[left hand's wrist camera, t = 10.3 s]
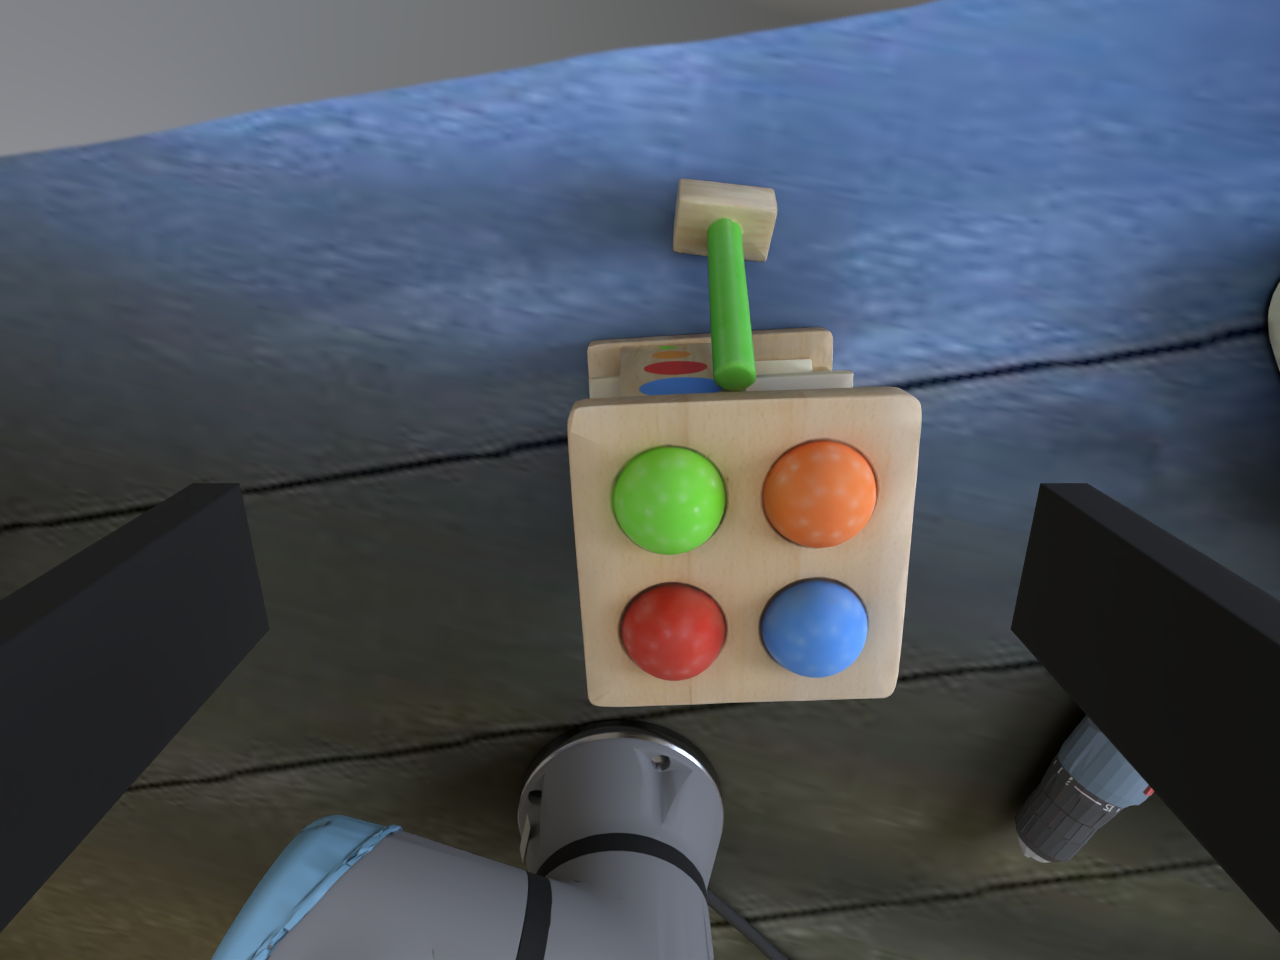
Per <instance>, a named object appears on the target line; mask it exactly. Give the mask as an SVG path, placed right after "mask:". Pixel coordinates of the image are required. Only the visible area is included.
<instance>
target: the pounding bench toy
mask: <svg viewBox="0 0 1280 960" xmlns="http://www.w3.org/2000/svg"><path fill="white" fill-rule="evenodd" d="M777 211H778V210H777V202H776V198H775V193H774V190H773V189H772V188H764V187H755V186H746V185H737V184H728V183H720V182H711V181H702V180H693V179H680V180H679V186H678V193H677V201H676V210H675V219H674V228H673V251H675V252H677V253H686V254H693V255H702V256H708V275H709V299H710V324H711V333H702V334H686V335H671V336H655V337H638V338H622V339H608V340H595V341H592V342H590V344H589V346H588V350H587V359H588V373H589V398H590V399H581V400H578V401H576V402H575V403H574V404H573V406H572V409H571V411H570V414H569V417H568V422H567V432H568V449H569V464H570V478H571V491H572V505H573V518H574V531H575V544H576V557H577V569H578V580H579V593H580V605H581V618H582V630H583V642H584V654H585V665H586V677H587V688H588V699H589V700H590V702H591V703H592V704H594V705H596V706H605V707H630V706H658V705H689V704H711V703H731V702H769V701H808V700H834V699H860V698H886V697H888V696H890V695H891V694H892V693H893V691H894V689H895V686H896V682H897V678H898V670H899V661H900V652H901V642H902V632H903V622H904V612H905V600H906V588H907V576H908V565H909V555H910V544H911V534H912V522H913V509H914V498H915V489H916V480H917V468H918V455H919V442H920V431H921V416H922V410H921V405H920V402H919V401H918V400H917V399H916V398H915V397H913V396H912V395H910V394H909V393H907V392H905V391H903V390H902V389H900V388H897V387H886V386H879V387H853V376H854V374H853V372H852V371H850V370H838V371H832V359H833V337H832V333H831V332H830V331H829V330H827V329H825V328H822V327H808V328H789V329H771V330H753V331H751V321H750V312H749V302H748V293H747V284H746V275H745V265H744V260H746V261H755V262H764V261H766V260H767V255H768V251H769V246H770V242H771V238H772V234H773V230H774V226H775V221H776V216H777Z"/></svg>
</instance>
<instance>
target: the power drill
mask: <svg viewBox="0 0 1280 960" xmlns="http://www.w3.org/2000/svg"><path fill="white" fill-rule="evenodd" d="M1153 792H1154V790H1153V789H1152V788H1151V787H1150V786H1149V785H1148V784H1147V782H1146V781H1145V780H1144V779H1143V778H1142V777H1141V776H1140V774H1139V773H1138V772H1137V771H1136V770H1135V769H1134V768H1133V767H1132V765H1131V764H1130V763H1129V762H1128V761H1127V760H1126V759H1125V758H1124V756H1123V755H1122V754H1121V753H1120V752H1119V751H1118V750H1117V749H1116V747H1115V746H1114V745H1113V744H1112V743H1111V742H1110V741H1109V740H1108V738H1107V737H1106V736H1105V735H1104V734H1103V733H1102V732H1101V731H1100V729H1099V728H1098V727H1097V726H1096V725H1095V724H1094V723H1093V721H1092V720H1091V719H1090V718H1089V717H1088V716H1087V715H1086V716H1085V717H1084V718H1083V719H1082V721H1081V722H1080V723H1079V724H1078V726H1077V727H1076V728H1075V729H1074V731H1073V732H1072V733H1071V734H1070V736H1069V737H1068V738H1067V739H1066V741H1065V742H1064V743H1063V745H1062V747H1061V749H1060V751H1059V752H1058V754H1057V755H1056V757H1055V758H1054V759H1053V760H1052V763H1051V764H1050V766H1049V768H1048V769H1047V771H1046V773H1045V775H1044V777H1043V779H1042V780H1041V783H1040V784H1039V785H1038V787H1037V788H1036V789H1035V790H1034V791H1033V793H1032V794H1031V795H1029V796H1028V799H1027V800H1026V802H1025V803H1024V805H1023V806H1022V807H1021V809H1020V810H1019V812H1018V813H1017V814H1016V816H1015V821H1016V829H1017V839H1018V842H1019V845H1020V846H1021V847H1022V852H1023V854H1024V855H1025V856H1027V857H1028V858H1029V857H1030V856H1031V857H1032V858H1033V860H1034V859H1035V860H1037V861H1039V862H1067V861H1069V860H1070V859H1071V858H1072V857H1073V856H1074V855H1075V854H1076V853H1077V852H1078V851H1079V850H1080V849H1081V848H1082V847H1083V846H1084V845H1085V844H1087V841H1088V840H1089V839H1090V838H1091V837H1092V836H1093V834H1094V833H1095V832H1096V831H1097V830H1098V829H1099V828H1101V827H1102V826H1103V825H1104V824H1106V823H1107V822H1108V821H1109V820H1111V819H1112V818H1113V817H1114V816H1116V815H1117V814H1118V813H1119V812H1120V811H1121V810H1122V809H1123V808H1126V807H1128V806H1131V805H1139V804H1141V803H1142V802H1143V801H1145V800H1146V799H1147V798H1148V797H1149V796H1151V795H1152V794H1153Z"/></svg>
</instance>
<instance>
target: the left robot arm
mask: <svg viewBox="0 0 1280 960" xmlns="http://www.w3.org/2000/svg"><path fill="white" fill-rule="evenodd" d="M268 630H269V626H268V621H267V616H266V611H265V606H264V601H263V596H262V591H261V586H260V581H259V576H258V571H257V567H256V562H255V557H254V552H253V547H252V542H251V537H250V532H249V527H248V522H247V517H246V512H245V508H244V503H243V498H242V493H241V488H240V483H193V484H191V485H189V486H188V487H186V488H185V489H183V490H181V491H180V492H178V493H176V494H175V495H173V496H171V497H170V498H168V499H166V500H165V501H163V502H162V503H160V504H158V505H157V506H155V507H153V508H152V509H150V510H148V511H147V512H145V513H143V514H142V515H140V516H139V517H137V518H135V519H134V520H132V521H130V522H129V523H127V524H125V525H124V526H122V527H120V528H119V529H117V530H116V531H114V532H112V533H111V534H109V535H107V536H106V537H104V538H102V539H101V540H99V541H97V542H96V543H94V544H93V545H91V546H89V547H88V548H86V549H84V550H83V551H81V552H79V553H78V554H76V555H74V556H73V557H71V558H70V559H68V560H66V561H65V562H63V563H61V564H60V565H58V566H56V567H55V568H53V569H51V570H50V571H48V572H47V573H45V574H43V575H42V576H40V577H38V578H37V579H35V580H33V581H32V582H30V583H29V584H27V585H25V586H24V587H22V588H20V589H19V590H17V591H15V592H14V593H12V594H10V595H9V596H7V597H6V598H4V599H2V600H1V601H0V932H1V931H2V930H3V929H4V928H5V927H6V926H7V925H8V923H9V922H10V921H11V920H12V919H13V918H14V917H15V915H16V914H17V913H18V912H19V911H20V910H21V909H22V908H23V906H24V905H25V904H26V903H27V902H28V901H29V900H30V899H31V897H32V896H33V895H34V894H35V893H36V892H37V891H38V890H39V888H40V887H41V886H42V885H43V884H44V883H45V882H46V881H47V879H48V878H49V877H50V876H51V875H52V874H53V873H54V871H55V870H56V869H57V868H58V867H59V866H60V865H61V864H62V862H63V861H64V860H65V859H66V858H67V857H68V856H69V855H70V853H71V852H72V851H73V850H74V849H75V848H76V847H77V846H78V844H79V843H80V842H81V841H82V840H83V839H84V838H85V837H86V835H87V834H88V833H89V832H90V831H91V830H92V829H93V828H94V826H95V825H96V824H97V823H98V822H99V821H100V820H101V818H102V817H103V816H104V815H105V814H106V813H107V812H108V811H109V809H110V808H111V807H112V806H113V805H114V804H115V803H116V802H117V800H118V799H119V798H120V797H121V796H122V795H123V794H124V793H125V791H126V790H127V789H128V788H129V787H130V786H131V785H132V784H133V782H134V781H135V780H136V779H137V778H138V777H139V776H140V774H141V773H142V772H143V771H144V770H145V769H146V768H147V767H148V765H149V764H150V763H151V762H152V761H153V760H154V759H155V758H156V756H157V755H158V754H159V753H160V752H161V751H162V750H163V749H164V747H165V746H166V745H167V744H168V743H169V742H170V741H171V740H172V738H173V737H174V736H175V735H176V734H177V733H178V732H179V731H180V729H181V728H182V727H183V726H184V725H185V724H186V723H187V721H188V720H189V719H190V718H191V717H192V716H193V715H194V714H195V712H196V711H197V710H198V709H199V708H200V707H201V706H202V705H203V703H204V702H205V701H206V700H207V699H208V698H209V697H210V696H211V694H212V693H213V692H214V691H215V690H216V689H217V688H218V687H219V685H220V684H221V683H222V682H223V681H224V680H225V679H226V677H227V676H228V675H229V674H230V673H231V672H232V671H233V670H234V668H235V667H236V666H237V665H238V664H239V663H240V662H241V661H242V659H243V658H244V657H245V656H246V655H247V654H248V653H249V652H250V650H251V649H252V648H253V647H254V646H255V645H256V644H257V643H258V641H259V640H260V639H261V638H262V637H263V636H264V635H265V634H266V632H267V631H268ZM1011 630H1012V631H1013V632H1014V634H1015V635H1016V636H1017V637H1018V638H1019V639H1020V640H1021V641H1022V643H1023V644H1024V645H1025V646H1026V647H1027V648H1028V649H1029V650H1030V652H1031V653H1032V654H1033V655H1034V656H1035V657H1036V658H1037V659H1038V661H1039V662H1040V663H1041V664H1042V665H1043V666H1044V667H1045V668H1046V670H1047V671H1048V672H1049V673H1050V674H1051V675H1052V676H1053V677H1054V679H1055V680H1056V681H1057V682H1058V683H1059V684H1060V685H1061V687H1062V688H1063V689H1064V690H1065V691H1066V692H1067V693H1068V694H1069V696H1070V697H1071V698H1072V699H1073V700H1074V701H1075V702H1076V703H1077V705H1078V706H1079V707H1080V708H1081V709H1082V710H1083V711H1084V712H1085V714H1086V715H1087V716H1088V717H1089V718H1090V719H1091V720H1092V721H1093V723H1094V724H1095V725H1096V726H1097V727H1098V728H1099V729H1100V731H1101V732H1102V733H1103V734H1104V735H1105V736H1106V737H1107V738H1108V740H1109V741H1110V742H1111V743H1112V744H1113V745H1114V746H1115V747H1116V749H1117V750H1118V751H1119V752H1120V753H1121V754H1122V755H1123V756H1124V758H1125V759H1126V760H1127V761H1128V762H1129V763H1130V764H1131V765H1132V767H1133V768H1134V769H1135V770H1136V771H1137V772H1138V773H1139V774H1140V776H1141V777H1142V778H1143V779H1144V780H1145V781H1146V782H1147V784H1148V785H1149V786H1150V787H1151V788H1152V789H1153V790H1154V791H1155V793H1156V794H1157V795H1158V796H1159V797H1160V798H1161V799H1162V800H1163V802H1164V803H1165V804H1166V805H1167V806H1168V807H1169V808H1170V809H1171V811H1172V812H1173V813H1174V814H1175V815H1176V816H1177V817H1178V818H1179V820H1180V821H1181V822H1182V823H1183V824H1184V825H1185V826H1186V828H1187V829H1188V830H1189V831H1190V832H1191V833H1192V834H1193V835H1194V837H1195V838H1196V839H1197V840H1198V841H1199V842H1200V843H1201V844H1202V846H1203V847H1204V848H1205V849H1206V850H1207V851H1208V852H1209V853H1210V855H1211V856H1212V857H1213V858H1214V859H1215V860H1216V861H1217V862H1218V864H1219V865H1220V866H1221V867H1222V868H1223V869H1224V870H1225V871H1226V873H1227V874H1228V875H1229V876H1230V877H1231V878H1232V879H1233V881H1234V882H1235V883H1236V884H1237V885H1238V886H1239V887H1240V888H1241V890H1242V891H1243V892H1244V893H1245V894H1246V895H1247V896H1248V897H1249V899H1250V900H1251V901H1252V902H1253V903H1254V904H1255V905H1256V906H1257V908H1258V909H1259V910H1260V911H1261V912H1262V913H1263V914H1264V915H1265V917H1266V918H1267V919H1268V920H1269V921H1270V922H1271V923H1272V925H1273V926H1274V927H1275V928H1276V929H1277V930H1278V931H1279V932H1280V601H1279V600H1278V599H1276V598H1274V597H1273V596H1271V595H1270V594H1268V593H1266V592H1265V591H1263V590H1261V589H1260V588H1258V587H1256V586H1255V585H1253V584H1251V583H1250V582H1248V581H1247V580H1245V579H1243V578H1242V577H1240V576H1238V575H1237V574H1235V573H1233V572H1232V571H1230V570H1229V569H1227V568H1225V567H1224V566H1222V565H1220V564H1219V563H1217V562H1215V561H1214V560H1212V559H1210V558H1209V557H1207V556H1206V555H1204V554H1202V553H1201V552H1199V551H1197V550H1196V549H1194V548H1192V547H1191V546H1189V545H1187V544H1186V543H1184V542H1183V541H1181V540H1179V539H1178V538H1176V537H1174V536H1173V535H1171V534H1169V533H1168V532H1166V531H1164V530H1163V529H1161V528H1160V527H1158V526H1156V525H1155V524H1153V523H1151V522H1150V521H1148V520H1146V519H1145V518H1143V517H1141V516H1140V515H1138V514H1137V513H1135V512H1133V511H1132V510H1130V509H1128V508H1127V507H1125V506H1123V505H1122V504H1120V503H1118V502H1117V501H1115V500H1114V499H1112V498H1110V497H1109V496H1107V495H1105V494H1104V493H1102V492H1100V491H1099V490H1097V489H1096V488H1094V487H1092V486H1091V485H1089V484H1087V483H1040V488H1039V493H1038V498H1037V503H1036V507H1035V512H1034V517H1033V522H1032V527H1031V532H1030V537H1029V542H1028V547H1027V552H1026V557H1025V562H1024V566H1023V571H1022V576H1021V581H1020V586H1019V591H1018V596H1017V601H1016V606H1015V611H1014V616H1013V621H1012V626H1011ZM518 826H519V831H520V835H521V839H522V840H521V844H520V853H521V858H522V863H523V859H524V854H525V859H526V864H527V869H528V872H527V871H525V870H523V869H520V868H516V867H513V866H510V865H507V864H504V863H501V862H497V861H494V860H491V859H488V858H485V857H481V856H478V855H475V854H472V853H469V852H466V851H463V850H460V849H457V848H454V847H451V846H448V845H445V844H442V843H439V842H436V841H433V840H430V839H427V838H424V837H421V836H418V835H415V834H412V833H409V832H406V831H403V829H402V827H401V826H398V825H390V826H384V825H379V824H375V823H371V822H367V821H364V820H360V819H356V818H352V817H348V816H344V815H330V816H325V817H322V818H320V819H318V820H316V821H314V822H312V823H311V824H309V825H308V826H307V827H305V828H304V829H303V830H302V831H301V832H300V833H299V834H298V835H297V836H296V837H295V838H294V839H293V840H292V841H291V842H290V843H289V844H288V845H287V847H286V848H285V849H284V850H283V851H282V853H281V854H280V855H279V856H278V858H277V859H276V860H275V862H274V863H273V864H272V866H271V867H270V868H269V870H268V871H267V873H266V874H265V875H264V877H263V878H262V879H261V881H260V882H259V884H258V885H257V887H256V888H255V890H254V891H253V893H252V894H251V896H250V897H249V899H248V900H247V902H246V903H245V905H244V906H243V908H242V909H241V911H240V912H239V914H238V915H237V917H236V919H235V920H234V922H233V923H232V925H231V926H230V928H229V930H228V931H227V933H226V935H225V936H224V938H223V939H222V941H221V943H220V944H219V946H218V948H217V950H216V952H215V953H214V955H213V957H212V959H211V960H714V956H713V947H712V937H711V928H710V919H709V911H708V905H709V906H710V907H711V908H712V909H713V910H715V911H716V912H717V913H718V914H719V915H720V916H722V917H723V918H724V919H725V920H726V921H728V922H729V923H730V924H731V925H732V926H733V927H735V928H736V929H737V930H738V931H739V932H741V933H742V934H743V935H744V936H745V937H746V938H748V939H749V940H750V941H751V942H752V943H753V944H754V945H755V946H756V947H757V948H758V949H759V950H761V951H762V952H763V953H764V954H765V955H766V956H767V957H768V958H769V959H770V960H790V959H788V958H787V957H786V956H785V955H783V954H782V953H781V952H780V951H779V950H777V949H776V948H775V947H774V946H773V945H772V944H771V943H770V942H769V941H768V940H767V939H766V938H765V937H764V936H763V935H762V934H761V933H760V932H759V931H758V930H757V929H755V928H754V927H753V926H752V925H751V924H750V923H749V922H747V921H746V920H745V919H744V918H743V917H741V916H740V915H739V914H738V913H737V912H736V911H734V910H733V909H732V908H731V907H730V906H729V905H728V904H726V903H725V902H724V901H723V900H722V899H721V898H720V897H718V896H717V895H716V894H715V893H714V892H713V891H712V890H710V889H709V888H708V883H709V879H710V876H711V872H712V868H713V865H714V861H715V857H716V853H717V850H718V846H719V842H720V839H721V836H722V832H723V827H724V808H723V801H722V794H721V788H720V783H719V780H718V777H717V775H716V773H715V770H714V768H713V767H712V765H711V764H710V762H709V761H708V759H707V758H706V757H705V755H704V754H703V753H702V752H701V751H700V750H699V749H698V748H697V747H696V746H694V745H693V744H692V743H691V742H689V741H688V740H686V739H685V738H684V737H682V736H680V735H678V734H676V733H675V732H672V731H670V730H668V729H666V728H663V727H660V726H657V725H653V724H649V723H645V722H639V721H629V720H613V721H603V722H597V723H592V724H588V725H585V726H582V727H579V728H576V729H574V730H571V731H569V732H567V733H565V734H563V735H562V736H560V737H558V738H557V739H555V740H554V741H552V742H551V743H550V744H549V745H547V746H546V747H545V748H544V749H543V750H542V751H541V752H540V753H539V754H538V756H537V757H536V758H535V759H534V761H533V762H532V764H531V766H530V767H529V769H528V771H527V774H526V776H525V779H524V782H523V787H522V792H521V797H520V802H519V807H518Z"/></svg>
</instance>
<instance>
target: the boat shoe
mask: <svg viewBox="0 0 1280 960" xmlns="http://www.w3.org/2000/svg"><path fill="white" fill-rule="evenodd" d="M1268 328H1269V338H1270V342H1271V345H1272V349H1273V352H1274V355H1275V359H1276V362H1277V364H1278V367H1279V370H1280V283H1279V284H1278V286H1277V288H1276V290H1275V292H1274V294H1273V296H1272V300H1271V304H1270V307H1269V314H1268Z"/></svg>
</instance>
